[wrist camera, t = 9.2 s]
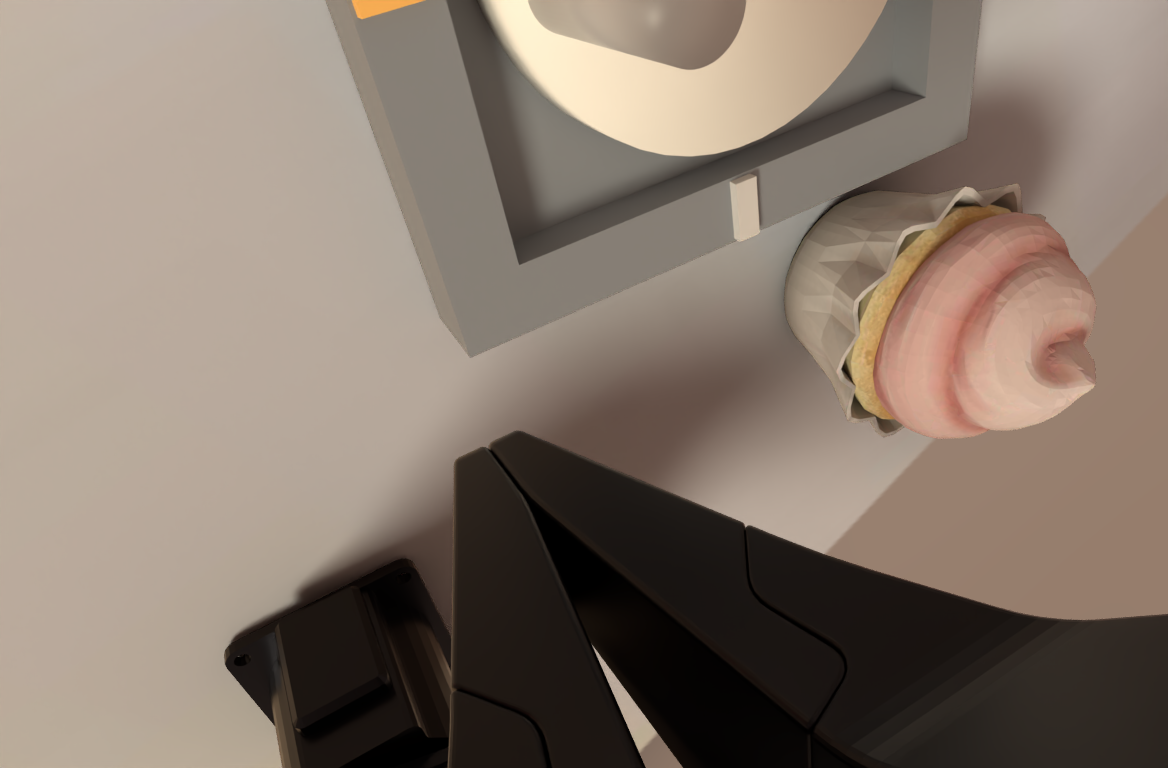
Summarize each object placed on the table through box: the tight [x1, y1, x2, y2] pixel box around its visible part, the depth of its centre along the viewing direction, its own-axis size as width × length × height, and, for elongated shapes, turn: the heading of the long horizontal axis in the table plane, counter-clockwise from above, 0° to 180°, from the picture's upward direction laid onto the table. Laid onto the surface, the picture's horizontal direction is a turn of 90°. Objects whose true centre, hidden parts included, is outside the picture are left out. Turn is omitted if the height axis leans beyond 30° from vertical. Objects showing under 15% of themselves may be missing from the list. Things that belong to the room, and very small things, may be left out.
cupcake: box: [784, 183, 1096, 438], centre depth 26 cm, size 9×9×10 cm
